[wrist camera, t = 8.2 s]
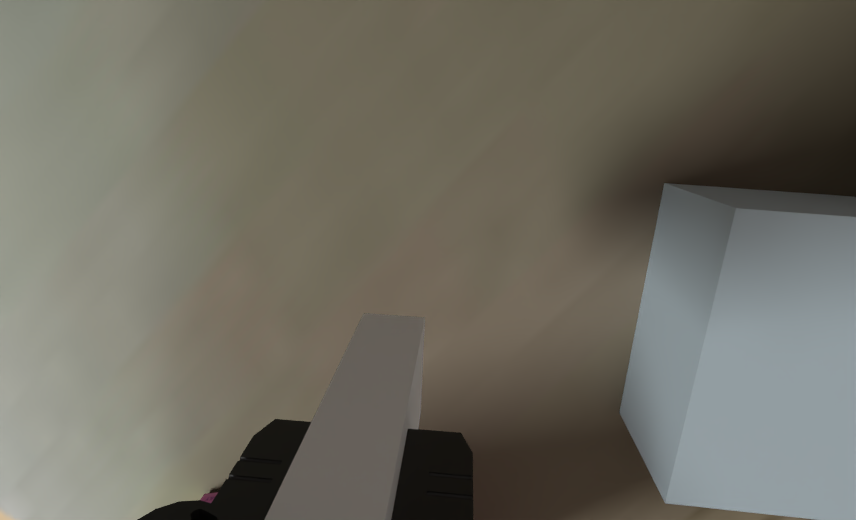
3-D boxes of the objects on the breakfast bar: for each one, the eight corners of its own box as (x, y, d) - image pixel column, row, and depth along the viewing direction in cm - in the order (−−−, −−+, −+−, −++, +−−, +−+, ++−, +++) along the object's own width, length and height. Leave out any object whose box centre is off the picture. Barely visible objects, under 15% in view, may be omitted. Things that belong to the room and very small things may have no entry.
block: (661, 182, 17) (735, 208, 12) (904, 199, 17) (1078, 233, 12) (617, 409, 20) (665, 503, 15) (827, 429, 19) (945, 533, 15)
